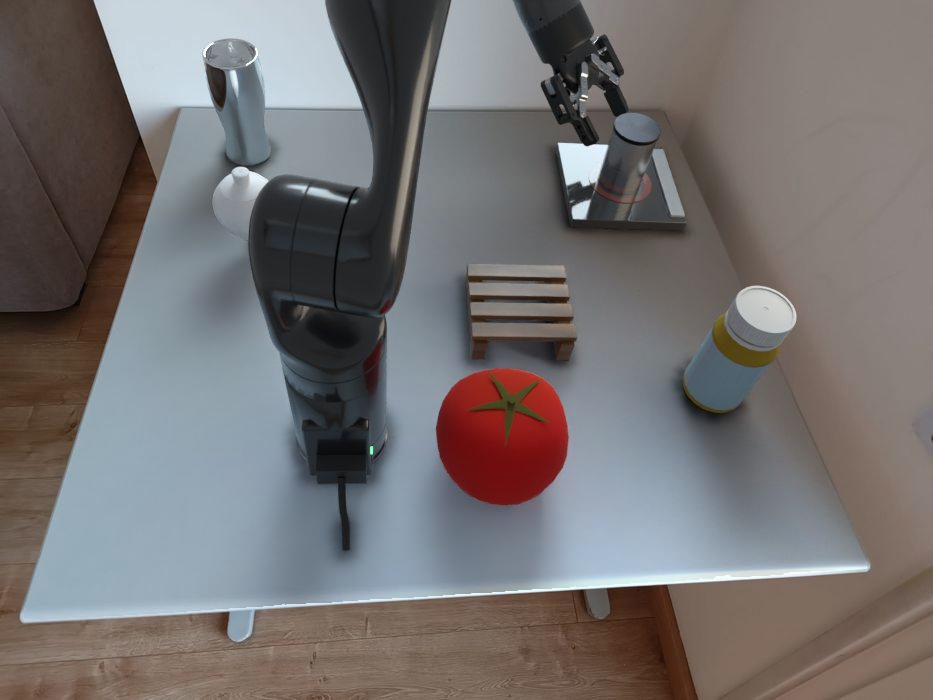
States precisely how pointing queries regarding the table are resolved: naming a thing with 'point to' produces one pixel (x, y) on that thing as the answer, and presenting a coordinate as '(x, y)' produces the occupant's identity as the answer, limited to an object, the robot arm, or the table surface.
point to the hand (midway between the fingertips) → (608, 128)
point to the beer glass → (238, 98)
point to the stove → (606, 209)
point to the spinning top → (237, 200)
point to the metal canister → (628, 153)
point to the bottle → (739, 349)
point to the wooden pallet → (519, 307)
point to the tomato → (502, 435)
